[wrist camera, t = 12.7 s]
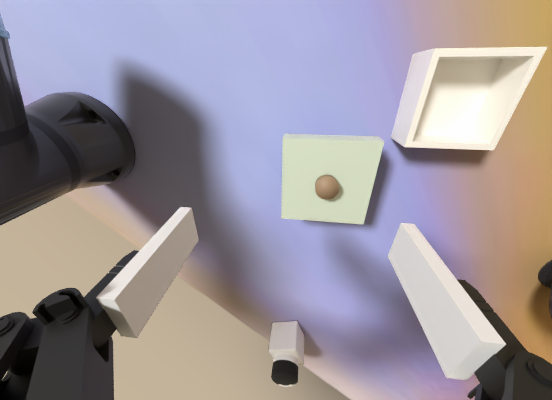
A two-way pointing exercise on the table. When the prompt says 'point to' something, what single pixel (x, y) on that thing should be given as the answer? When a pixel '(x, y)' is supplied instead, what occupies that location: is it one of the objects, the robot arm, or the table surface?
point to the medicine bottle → (286, 352)
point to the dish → (462, 96)
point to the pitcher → (547, 279)
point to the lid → (328, 176)
